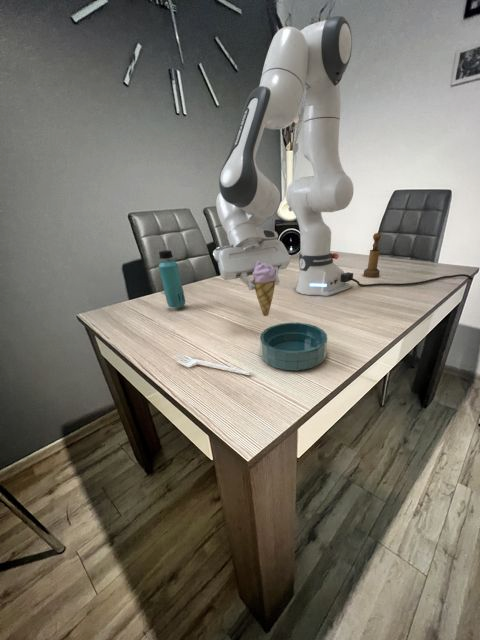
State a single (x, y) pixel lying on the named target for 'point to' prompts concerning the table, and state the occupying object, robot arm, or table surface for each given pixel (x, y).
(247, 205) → the robot arm
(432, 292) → the table surface
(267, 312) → the ice cream cone
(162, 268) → the beverage bottle
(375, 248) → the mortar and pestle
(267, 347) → the bowl
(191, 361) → the fork
